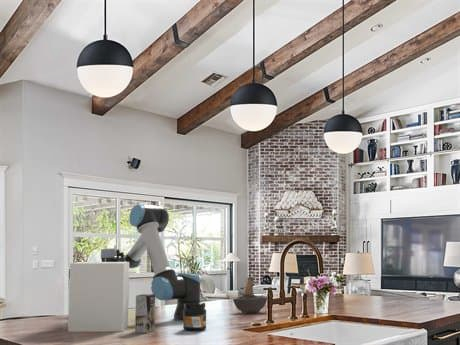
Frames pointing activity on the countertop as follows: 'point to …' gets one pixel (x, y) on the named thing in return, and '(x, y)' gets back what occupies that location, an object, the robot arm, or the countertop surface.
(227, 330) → the countertop surface
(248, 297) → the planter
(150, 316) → the coffee box
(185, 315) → the supplement container
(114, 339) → the countertop surface
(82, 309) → the shelf unit
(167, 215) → the robot arm
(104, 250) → the slate carton
